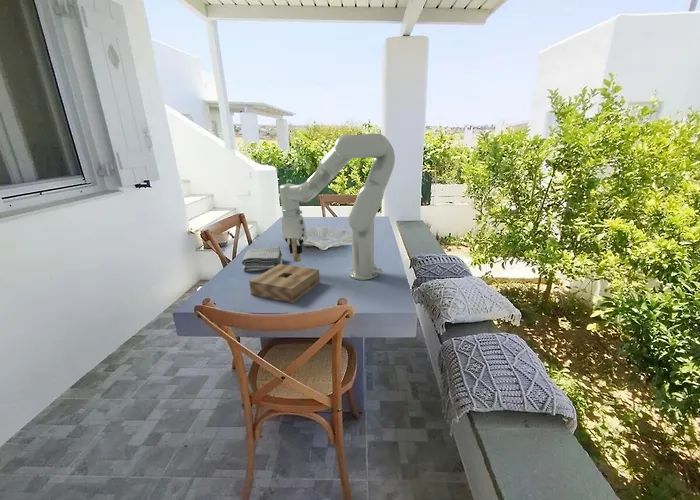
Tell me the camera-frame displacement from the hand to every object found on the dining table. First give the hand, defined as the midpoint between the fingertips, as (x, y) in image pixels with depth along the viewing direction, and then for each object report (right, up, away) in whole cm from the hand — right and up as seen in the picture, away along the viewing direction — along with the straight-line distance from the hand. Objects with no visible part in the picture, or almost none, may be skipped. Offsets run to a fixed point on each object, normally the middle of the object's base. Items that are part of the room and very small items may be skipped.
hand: (296, 252), depth 146 cm
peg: (0, -4, +1) cm, 4 cm away
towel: (-18, -7, +14) cm, 24 cm away
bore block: (-2, -15, -13) cm, 20 cm away
